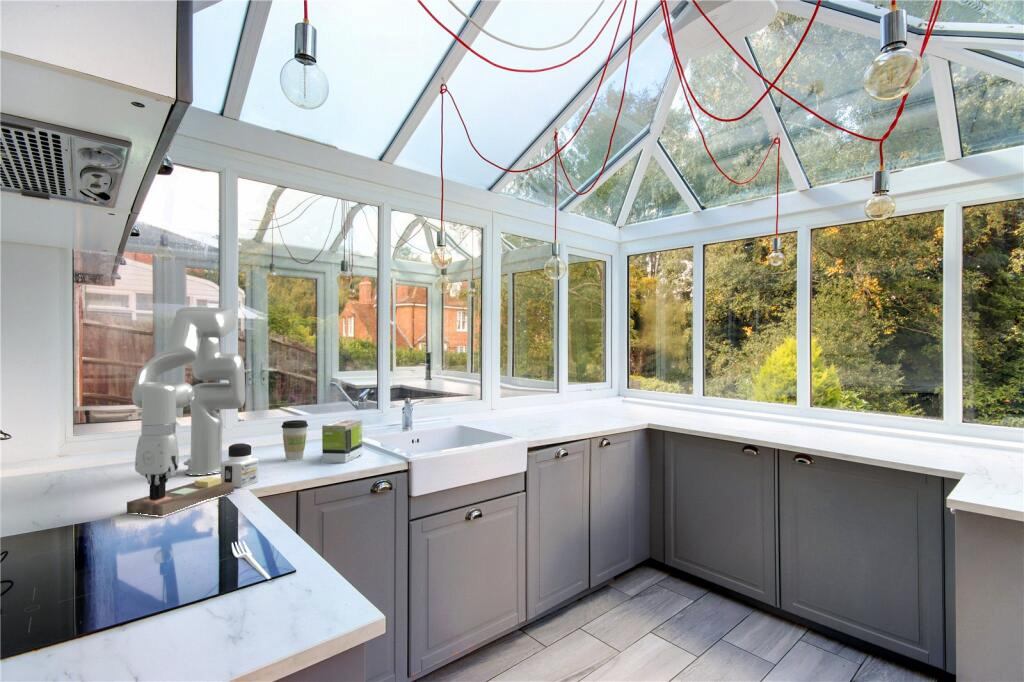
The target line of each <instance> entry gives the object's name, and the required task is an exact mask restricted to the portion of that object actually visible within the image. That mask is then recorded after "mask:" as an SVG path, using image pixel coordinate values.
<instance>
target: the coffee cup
mask: <svg viewBox="0 0 1024 682" xmlns="http://www.w3.org/2000/svg"><path fill="white" fill-rule="evenodd" d="M280 427H281V428H282V440H283V441H282V442H283V448H284V449H283V450H284V454H285V460H286V459H287V460H297V459H302V458H303V459H304V451H305V447H306V440H307V433H308V432H307V430H308V429H307V428H308V427H309V425H308V422H307V420H302V419H299V420H298V419H295V420H294V419H293V420H285V421H283V422H282V425H281V426H280ZM303 459H302V460H303ZM287 460H286V461H287ZM297 461H298V460H297Z"/></svg>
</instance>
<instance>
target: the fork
mask: <svg viewBox="0 0 1024 682" xmlns="http://www.w3.org/2000/svg"><path fill="white" fill-rule="evenodd" d="M234 544H235V546H234ZM238 544H239V546H238ZM242 544H243V545H242ZM231 550H232V554H233V556H234V557H235V558H237V559H243V558H244V559H245V560H246V561H247V562H248V563H249V564H250V565H251V566H252V567H253V568H254V569H255V570H257V572H259V573H260V574H261V575H262V576H263V577H264V578H265V579H266V580H269V579H272V578H271V576H270V575H269V574H268V573H267V572H266V570H265V569H264V568H263V567H262V566H261V565H260V564H259V563H258V562H257V561H256V559H255V558H254V557H253V556H252V555H253V553H252V552H251V550H250V549H249V547H248V546H247V544H246V542H245V541H244V540H242V543H241V541H240V540H238V543H237V541H235V542H234V543H233V542H231Z"/></svg>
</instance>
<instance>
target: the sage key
mask: <svg viewBox="0 0 1024 682" xmlns="http://www.w3.org/2000/svg"><path fill="white" fill-rule="evenodd" d="M195 491H198V489H190V488H184V489H180V490H177V491H174V492H170V494H175V495H186V494H189V493H192V492H195Z"/></svg>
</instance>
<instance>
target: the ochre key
mask: <svg viewBox="0 0 1024 682" xmlns="http://www.w3.org/2000/svg"><path fill="white" fill-rule="evenodd" d="M194 482H195V486H196V487H207V488H208V487H211V486H214V485H218V484H221V477H213V476H207V477H204V478H201V479H200V478H199V479H197V480H194Z"/></svg>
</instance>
